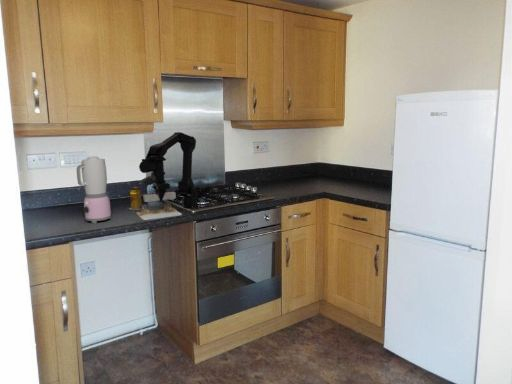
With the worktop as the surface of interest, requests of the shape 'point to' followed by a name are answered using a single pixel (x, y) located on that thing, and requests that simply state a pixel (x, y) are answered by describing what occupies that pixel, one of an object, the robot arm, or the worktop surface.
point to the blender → (94, 189)
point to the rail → (156, 197)
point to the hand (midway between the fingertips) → (160, 200)
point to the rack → (146, 210)
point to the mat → (160, 215)
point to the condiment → (135, 198)
